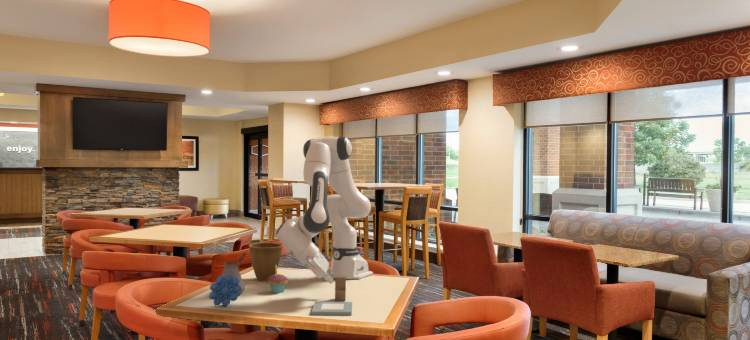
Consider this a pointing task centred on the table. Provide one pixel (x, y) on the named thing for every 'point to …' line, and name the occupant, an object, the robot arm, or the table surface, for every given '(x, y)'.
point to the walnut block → (340, 288)
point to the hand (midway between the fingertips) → (333, 279)
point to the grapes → (225, 290)
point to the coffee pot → (234, 271)
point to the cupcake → (277, 282)
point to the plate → (332, 308)
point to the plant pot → (265, 259)
